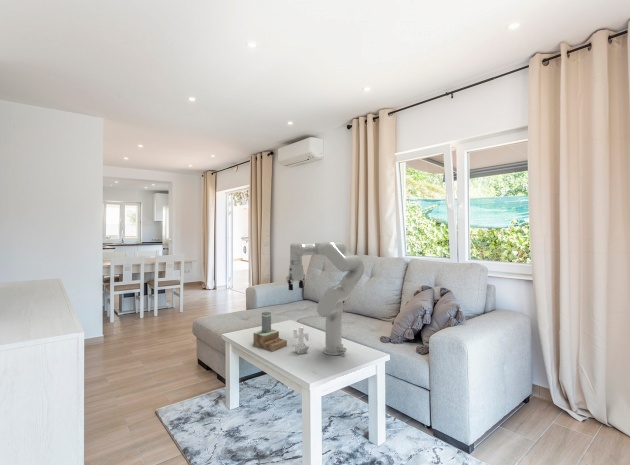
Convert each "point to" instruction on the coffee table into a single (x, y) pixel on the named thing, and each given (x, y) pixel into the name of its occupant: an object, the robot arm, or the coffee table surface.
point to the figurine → (300, 340)
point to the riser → (269, 340)
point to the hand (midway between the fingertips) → (295, 289)
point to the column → (266, 322)
